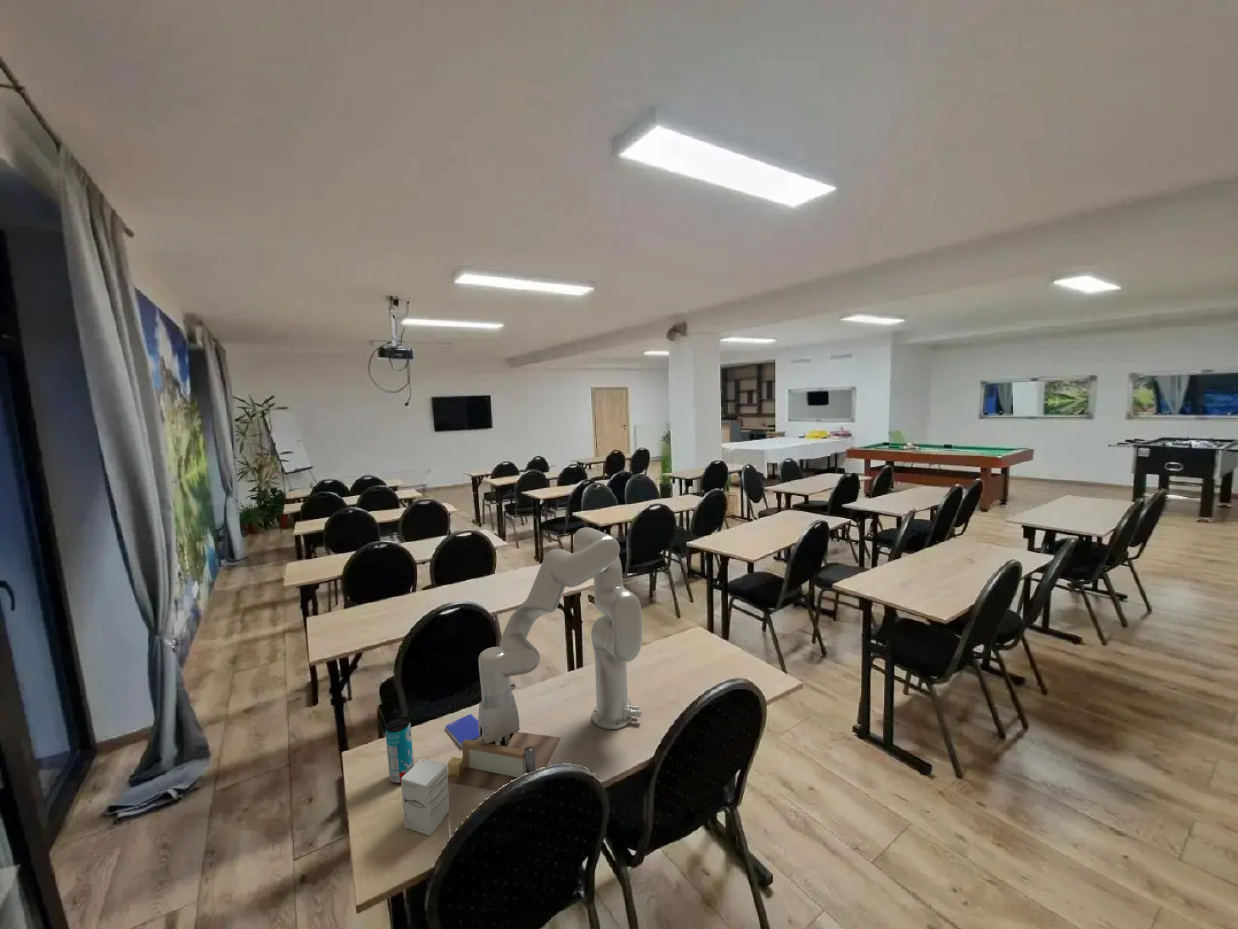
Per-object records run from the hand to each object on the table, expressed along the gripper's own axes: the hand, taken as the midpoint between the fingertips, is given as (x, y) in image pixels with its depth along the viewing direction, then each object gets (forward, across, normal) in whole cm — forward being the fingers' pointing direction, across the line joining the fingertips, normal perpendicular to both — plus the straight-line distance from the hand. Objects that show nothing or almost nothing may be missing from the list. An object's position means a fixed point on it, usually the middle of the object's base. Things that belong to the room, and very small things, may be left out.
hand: (502, 758), depth 135 cm
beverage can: (+1, +23, -12) cm, 26 cm away
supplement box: (+1, +22, +6) cm, 23 cm away
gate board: (+2, -1, -1) cm, 2 cm away
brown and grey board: (0, +3, +3) cm, 4 cm away
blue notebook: (+1, +3, -18) cm, 18 cm away
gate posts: (+1, +4, +4) cm, 6 cm away
